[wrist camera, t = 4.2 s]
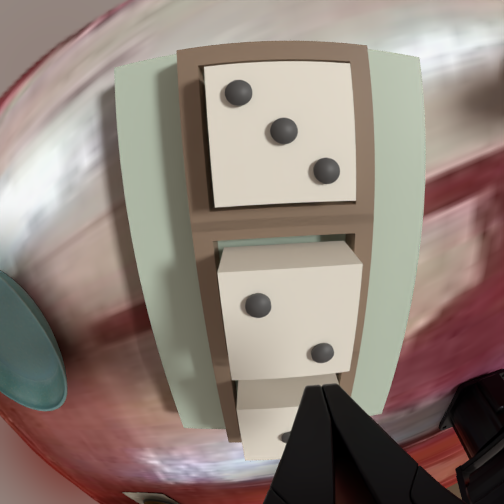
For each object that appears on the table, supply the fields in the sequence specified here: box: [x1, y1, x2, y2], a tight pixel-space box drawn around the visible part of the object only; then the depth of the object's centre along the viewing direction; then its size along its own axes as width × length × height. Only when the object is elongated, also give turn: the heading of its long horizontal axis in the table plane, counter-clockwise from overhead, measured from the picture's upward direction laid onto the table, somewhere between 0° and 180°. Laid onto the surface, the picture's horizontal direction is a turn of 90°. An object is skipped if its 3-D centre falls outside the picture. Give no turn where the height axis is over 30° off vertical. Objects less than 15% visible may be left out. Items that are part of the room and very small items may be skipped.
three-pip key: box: [204, 61, 356, 208], centre depth 11 cm, size 5×5×3 cm
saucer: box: [0, 270, 67, 411], centre depth 18 cm, size 15×15×3 cm
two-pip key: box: [217, 241, 363, 380], centre depth 12 cm, size 5×5×3 cm
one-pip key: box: [237, 373, 339, 460], centre depth 15 cm, size 5×5×3 cm
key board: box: [114, 41, 426, 442], centre depth 15 cm, size 22×14×3 cm, turn 4°
